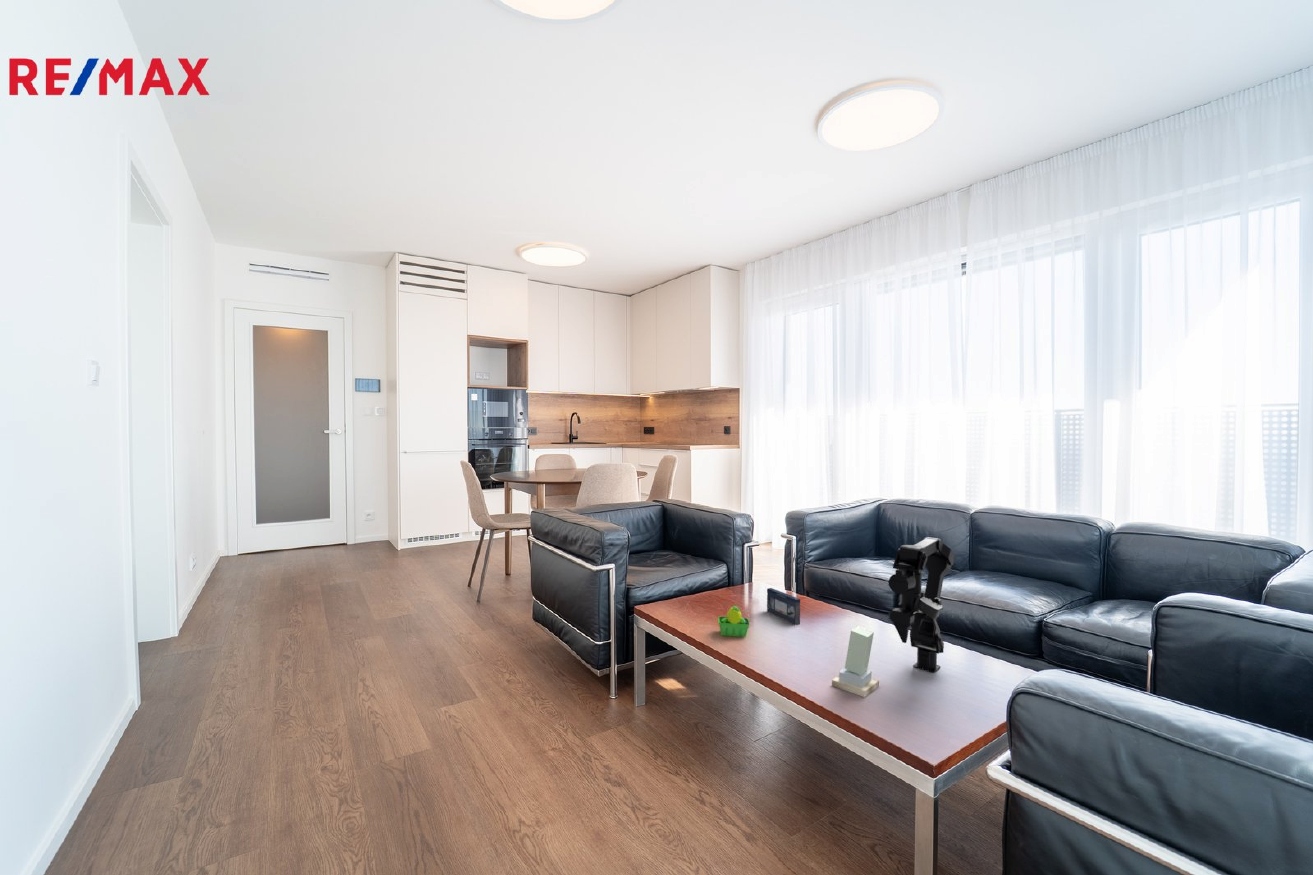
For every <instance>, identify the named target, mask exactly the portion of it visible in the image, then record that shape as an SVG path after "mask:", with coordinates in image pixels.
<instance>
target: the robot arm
mask: <svg viewBox="0 0 1313 875" xmlns="http://www.w3.org/2000/svg"><path fill="white" fill-rule="evenodd" d="M954 563H955V555H954V554H953V551H952V549H951V548H950V547H949V546H947V545H946V544H945V543H944V542H943V540H942V539H940V538H937V537H929V536H926V537H924V538H923V540H920V541H918V542H916V543H915V544H902V545H900V546H899V548H898V549H897V551H896V555H895V558H894V562H893V565H892V569H894V570H895V573H894V574H892V575H891V576H890V577H889V579H888V587H889V588H890V590H891V591H892V592H893V593H894V594H897V595H900V602H899V603H897V607H895V608H894V609H891V611H889V612H888V619H889V620H890V621H891V622H892V624H893V626H894V627H895V629H896V632H897V634H898V636H899V638H900V641H901V642H902V643H904V644H906V643H907V641H908V637H909V639H910V647H911V648H917V649H916V650H917V651H916V662H915V663H914V664H912V667H913V668H917V669H919V670H923V671H926V672H930V673H933V674H934V673H936V672H937V671H938V670H939V669H941V665H939V664H937V663H938V661H937V660H938V659H937V658H938V655H939V654H940V653H941V654H943V653H944V648H945V643H944V640H943V638H942V635H941V630H940V627H939V625H938V622H937V619H938V618H939V616H940V614H941V612H942V611H943V609H944V608H943V607H944V606H943V605H942V599H941V594H942V589H943V583H944V578H945V577H947V575H948V574H949V573H950V572H951V570H952V566H953V565H954ZM925 568H926V570H927V572H928V573H927V579H926V584H925V589H924V590H925V591H923V590H922V580H923V579H922V578H923V576H922V575H923V574H922V572H923V571H924V570H925ZM910 627H911V628H910Z"/></svg>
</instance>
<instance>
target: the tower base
mask: <svg viewBox="0 0 1313 875" xmlns="http://www.w3.org/2000/svg"><path fill="white" fill-rule="evenodd" d="M831 686H832V687H835V688H837V689H839V690H840V689H841V690H844V691H845V692H849V693H852V694H854V695H857V696H860V697H863V698H866V697H867V696H868V695H870V694H871V693H872V692H873V691H875V690H877V688H879V687H880V680H879V679H875V678H873V677H871V681H870V682H868V683H867V684H866V685H865V686H864V687H859V686H856V685H853V684H849V683H846V682H843V681H840V680H839V675H837V676H836V677H834V678H833V679H831Z"/></svg>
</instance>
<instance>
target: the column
mask: <svg viewBox="0 0 1313 875" xmlns="http://www.w3.org/2000/svg"><path fill="white" fill-rule="evenodd" d="M873 640H874V631H871V630H869V629H867V628H864V627H861V626H858V625H857V626H856V627H854V628H852V629H851V631H850V635H849V641H848V646H847V651H846V652H847V653H846V657H845V658H846V659H845V665H844V668H845V669H847V670H849V671H851V672H854V673H856V674H858V675H860V676H862V675H863V674H864V673H865V672H866V671H867V670H868V668H869V662H870V657H871V650H872V645H873Z"/></svg>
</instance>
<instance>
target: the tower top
mask: <svg viewBox="0 0 1313 875" xmlns="http://www.w3.org/2000/svg"><path fill="white" fill-rule="evenodd" d="M838 676H839V680H840V681H843V682H846V683H849V684H853V685H856V686H859V687H864V686H865V685H866V684H867V683H868V682H870V681H871V678H872V670H868V669H867V671H866V672H865V673H864V674H863V675H862V676H860V675H858V674H856V673H854V672H851V671H849V670H847V669H845V667H844V668H842V669H841V670H840V671H839V674H838Z"/></svg>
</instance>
